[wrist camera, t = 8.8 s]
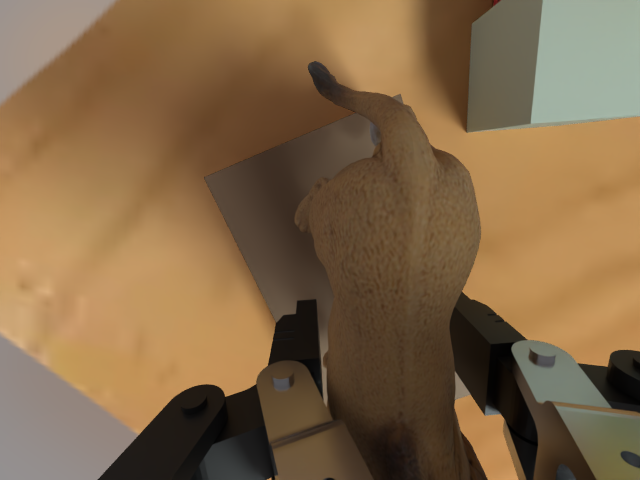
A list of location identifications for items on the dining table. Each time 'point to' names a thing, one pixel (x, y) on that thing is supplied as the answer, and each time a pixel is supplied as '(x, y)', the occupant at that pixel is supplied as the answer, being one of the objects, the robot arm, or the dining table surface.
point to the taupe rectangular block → (290, 216)
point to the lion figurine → (395, 290)
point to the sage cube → (554, 64)
